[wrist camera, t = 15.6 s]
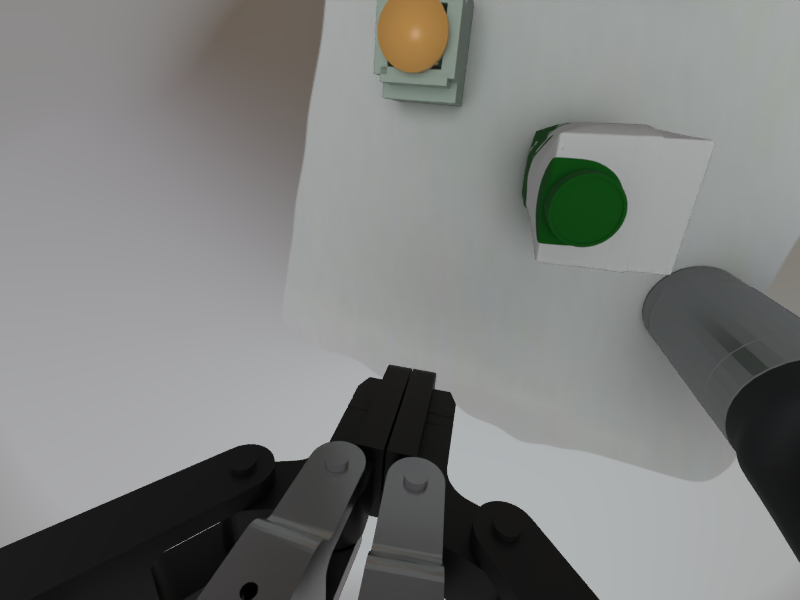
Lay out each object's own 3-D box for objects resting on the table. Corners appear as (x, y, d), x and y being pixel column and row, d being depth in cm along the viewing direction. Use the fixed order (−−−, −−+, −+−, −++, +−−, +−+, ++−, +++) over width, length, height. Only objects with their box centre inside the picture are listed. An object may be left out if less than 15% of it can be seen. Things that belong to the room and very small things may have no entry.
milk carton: (527, 120, 38) (557, 119, 20) (631, 125, 37) (761, 129, 19) (513, 213, 42) (527, 282, 24) (606, 221, 40) (696, 301, 22)
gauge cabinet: (474, 0, 36) (467, -40, 27) (461, 106, 39) (451, 101, 30) (406, -2, 37) (378, -42, 28) (400, 101, 40) (372, 95, 31)
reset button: (457, 4, 30) (452, -12, 26) (449, 79, 32) (443, 74, 28) (393, 2, 30) (379, -14, 27) (388, 75, 32) (375, 69, 29)
